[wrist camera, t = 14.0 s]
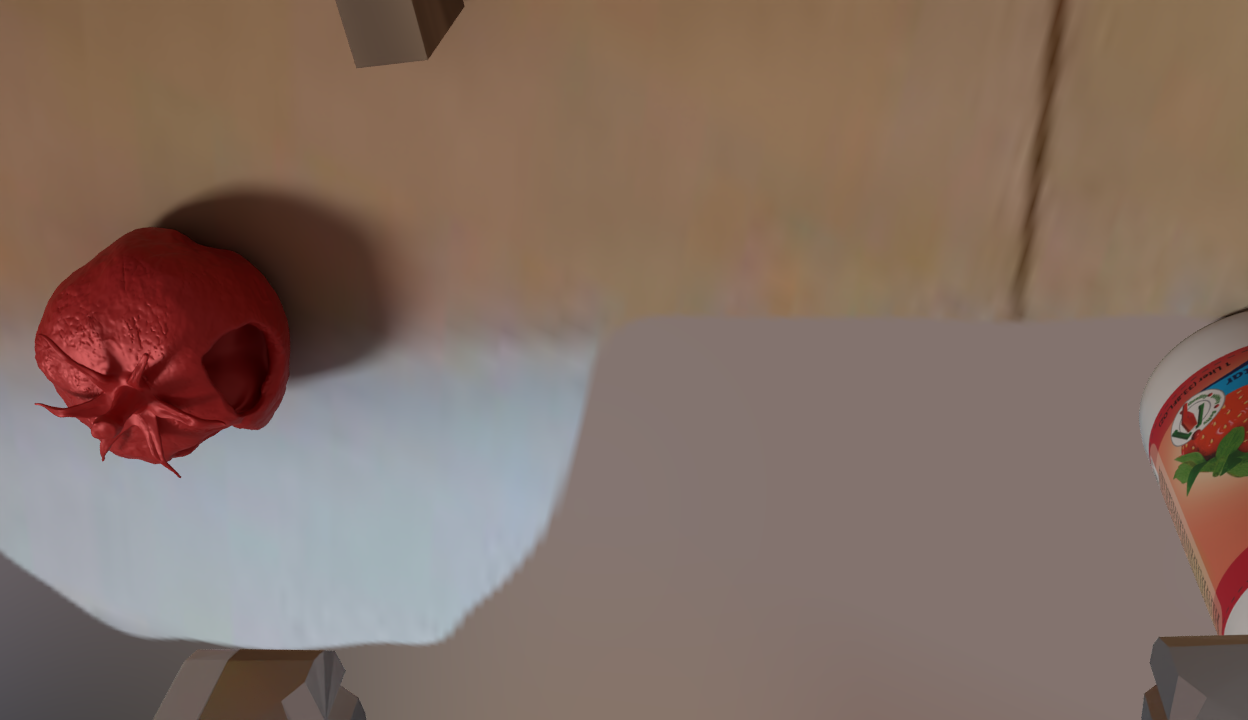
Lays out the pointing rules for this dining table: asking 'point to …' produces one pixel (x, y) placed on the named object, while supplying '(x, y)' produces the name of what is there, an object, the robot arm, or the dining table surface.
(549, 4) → the dining table surface
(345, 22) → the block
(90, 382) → the pomegranate
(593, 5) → the dining table surface
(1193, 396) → the fruit juice
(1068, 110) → the dining table surface
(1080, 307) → the dining table surface
